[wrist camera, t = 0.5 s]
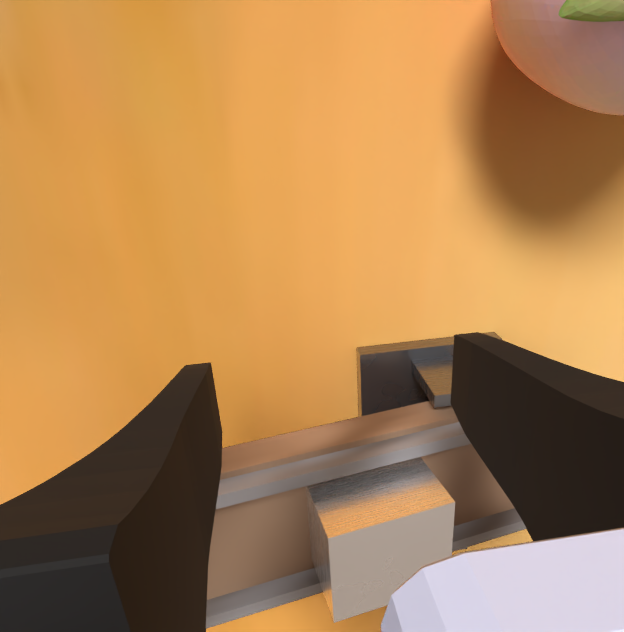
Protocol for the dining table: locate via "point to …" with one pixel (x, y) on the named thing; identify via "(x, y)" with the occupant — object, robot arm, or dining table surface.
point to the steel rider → (376, 533)
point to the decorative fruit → (567, 48)
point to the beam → (322, 465)
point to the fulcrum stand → (405, 374)
